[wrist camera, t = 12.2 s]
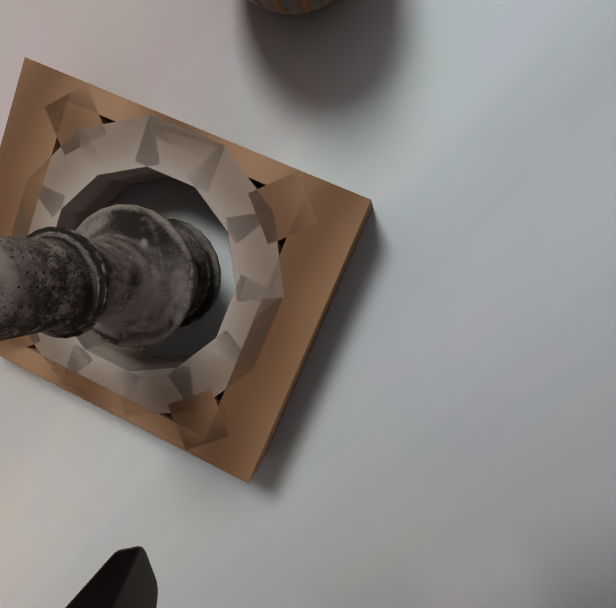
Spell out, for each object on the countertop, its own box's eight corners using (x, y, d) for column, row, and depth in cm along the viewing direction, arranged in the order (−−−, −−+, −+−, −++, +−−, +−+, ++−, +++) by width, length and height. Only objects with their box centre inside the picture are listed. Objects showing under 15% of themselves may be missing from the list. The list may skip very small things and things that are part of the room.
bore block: (373, 206, 19) (370, 199, 17) (263, 457, 21) (248, 483, 19) (66, 80, 21) (25, 57, 19) (-5, 322, 23) (-51, 330, 21)
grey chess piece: (139, 348, 22) (-143, 455, 10) (97, 238, 22) (-241, 218, 10) (244, 310, 21) (60, 381, 9) (200, 193, 21) (-47, 111, 9)
